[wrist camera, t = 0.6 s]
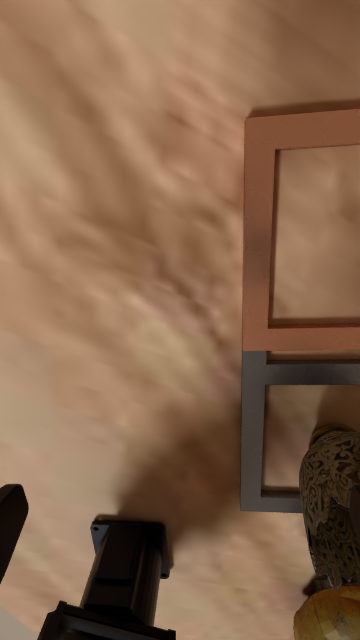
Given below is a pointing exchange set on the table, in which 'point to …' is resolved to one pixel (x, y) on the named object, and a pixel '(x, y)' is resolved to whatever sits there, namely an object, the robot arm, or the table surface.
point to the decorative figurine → (329, 613)
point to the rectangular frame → (256, 332)
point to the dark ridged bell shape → (331, 502)
